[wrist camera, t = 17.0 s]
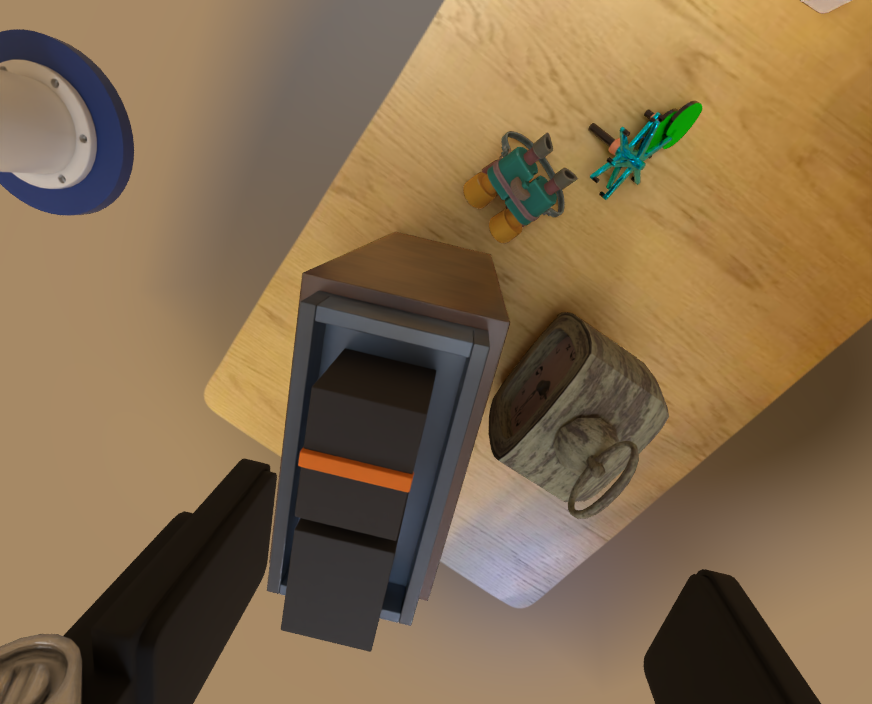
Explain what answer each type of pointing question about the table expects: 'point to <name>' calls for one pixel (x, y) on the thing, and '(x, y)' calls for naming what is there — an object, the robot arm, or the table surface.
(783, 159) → the table surface
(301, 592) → the dark grey block
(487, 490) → the table surface
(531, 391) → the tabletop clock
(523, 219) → the binoculars
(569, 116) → the table surface
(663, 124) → the stick construction toy
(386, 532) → the black banded block
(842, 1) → the white slotted bracket
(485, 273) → the brown and grey box
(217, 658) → the robot arm
